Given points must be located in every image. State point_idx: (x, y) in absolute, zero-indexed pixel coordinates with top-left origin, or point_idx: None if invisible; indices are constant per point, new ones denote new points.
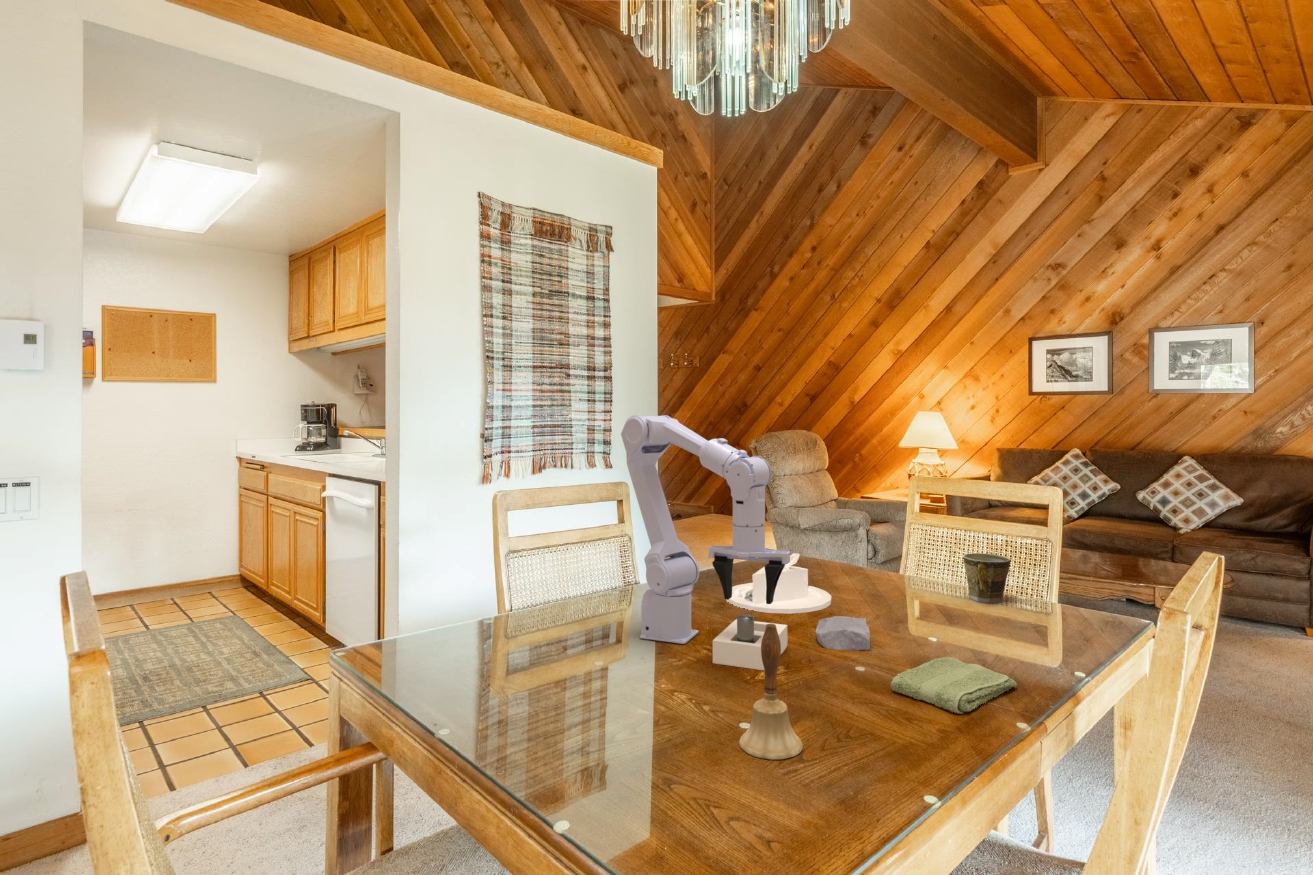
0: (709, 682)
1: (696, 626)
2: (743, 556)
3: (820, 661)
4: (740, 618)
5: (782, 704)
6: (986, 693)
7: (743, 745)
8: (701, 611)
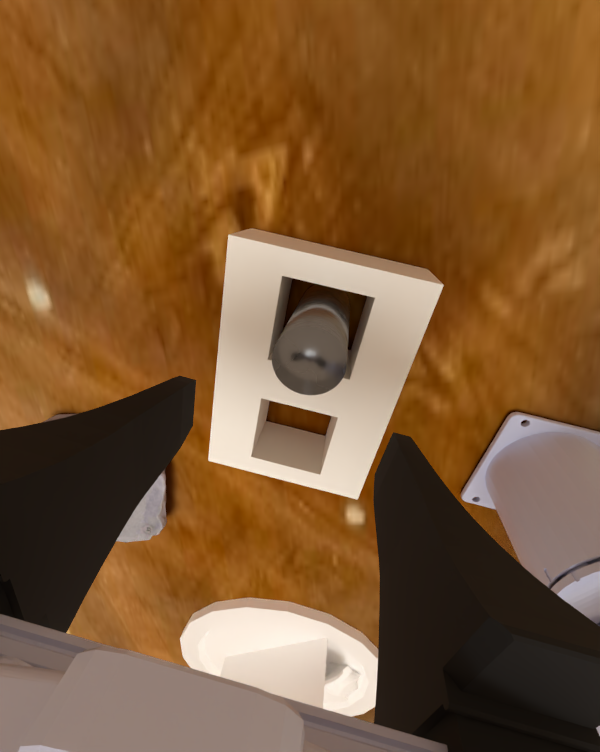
0: (446, 55)
1: None
2: (153, 674)
3: (134, 331)
4: (329, 332)
5: None
6: None
7: None
8: None
